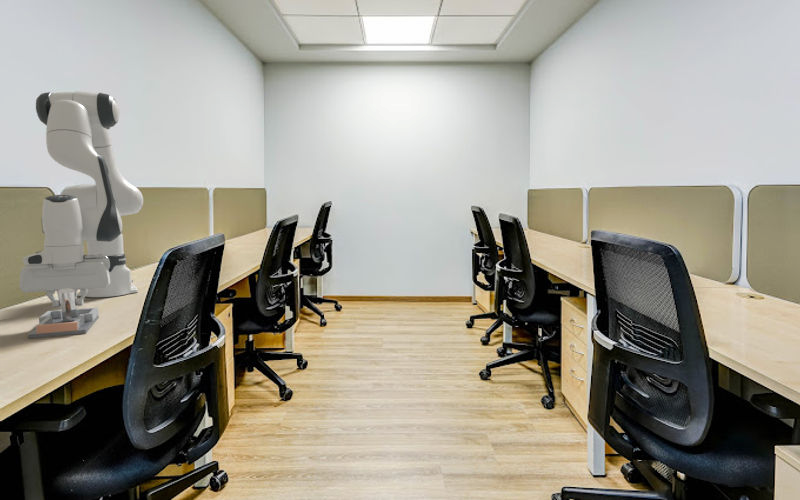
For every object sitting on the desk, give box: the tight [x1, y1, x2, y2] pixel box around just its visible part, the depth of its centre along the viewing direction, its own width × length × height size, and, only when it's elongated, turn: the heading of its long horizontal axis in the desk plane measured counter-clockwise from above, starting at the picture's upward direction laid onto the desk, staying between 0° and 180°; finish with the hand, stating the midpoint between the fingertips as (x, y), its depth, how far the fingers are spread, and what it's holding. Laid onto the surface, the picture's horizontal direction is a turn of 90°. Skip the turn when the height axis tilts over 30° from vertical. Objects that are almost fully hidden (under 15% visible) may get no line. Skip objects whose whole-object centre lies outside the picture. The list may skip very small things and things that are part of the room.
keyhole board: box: [27, 306, 100, 339], centre depth 130 cm, size 18×12×3 cm, turn 23°
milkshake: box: [56, 288, 78, 321], centre depth 133 cm, size 4×5×10 cm
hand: (68, 306), depth 133 cm, fingers closed on milkshake, 4 cm apart
